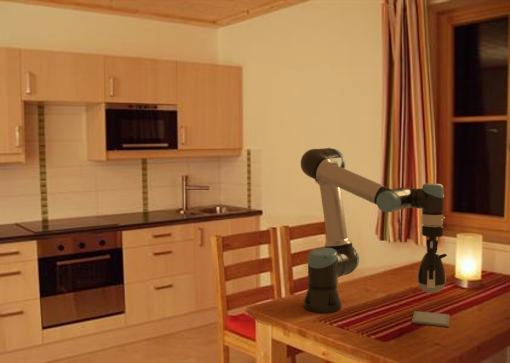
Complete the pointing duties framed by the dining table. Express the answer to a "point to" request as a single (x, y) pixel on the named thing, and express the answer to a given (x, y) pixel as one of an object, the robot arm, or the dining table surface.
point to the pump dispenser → (439, 274)
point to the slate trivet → (430, 318)
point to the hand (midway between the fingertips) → (431, 283)
